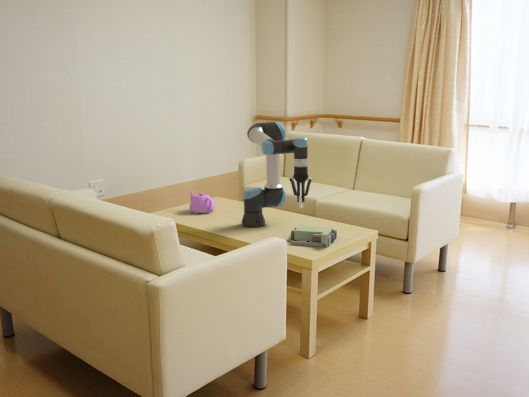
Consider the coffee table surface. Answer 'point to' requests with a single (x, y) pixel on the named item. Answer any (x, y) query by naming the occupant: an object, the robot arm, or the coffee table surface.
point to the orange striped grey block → (316, 238)
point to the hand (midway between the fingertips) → (300, 207)
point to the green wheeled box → (308, 231)
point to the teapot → (201, 203)
